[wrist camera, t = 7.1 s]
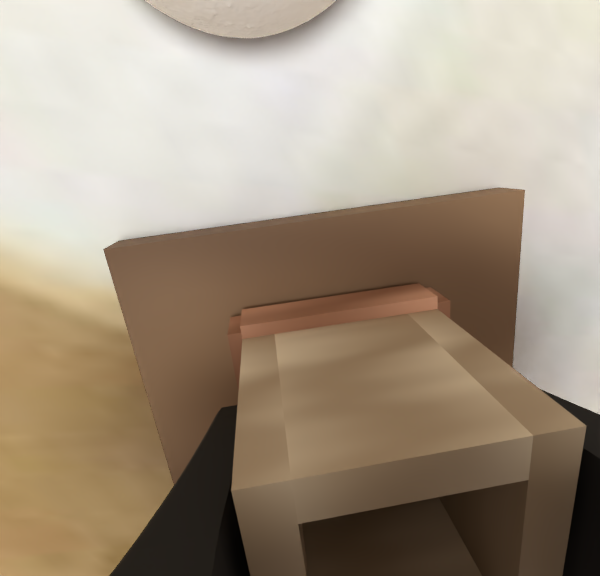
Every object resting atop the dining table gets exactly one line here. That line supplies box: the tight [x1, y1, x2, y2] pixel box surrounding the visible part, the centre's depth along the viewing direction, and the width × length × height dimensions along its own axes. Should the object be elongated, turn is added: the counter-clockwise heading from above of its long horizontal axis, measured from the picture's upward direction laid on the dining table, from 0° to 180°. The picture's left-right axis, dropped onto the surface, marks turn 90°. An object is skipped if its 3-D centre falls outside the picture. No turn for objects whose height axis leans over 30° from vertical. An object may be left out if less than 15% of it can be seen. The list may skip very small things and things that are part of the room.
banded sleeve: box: [227, 283, 586, 576], centre depth 8 cm, size 5×5×5 cm
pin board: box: [103, 188, 525, 485], centre depth 11 cm, size 17×10×4 cm, turn 7°
